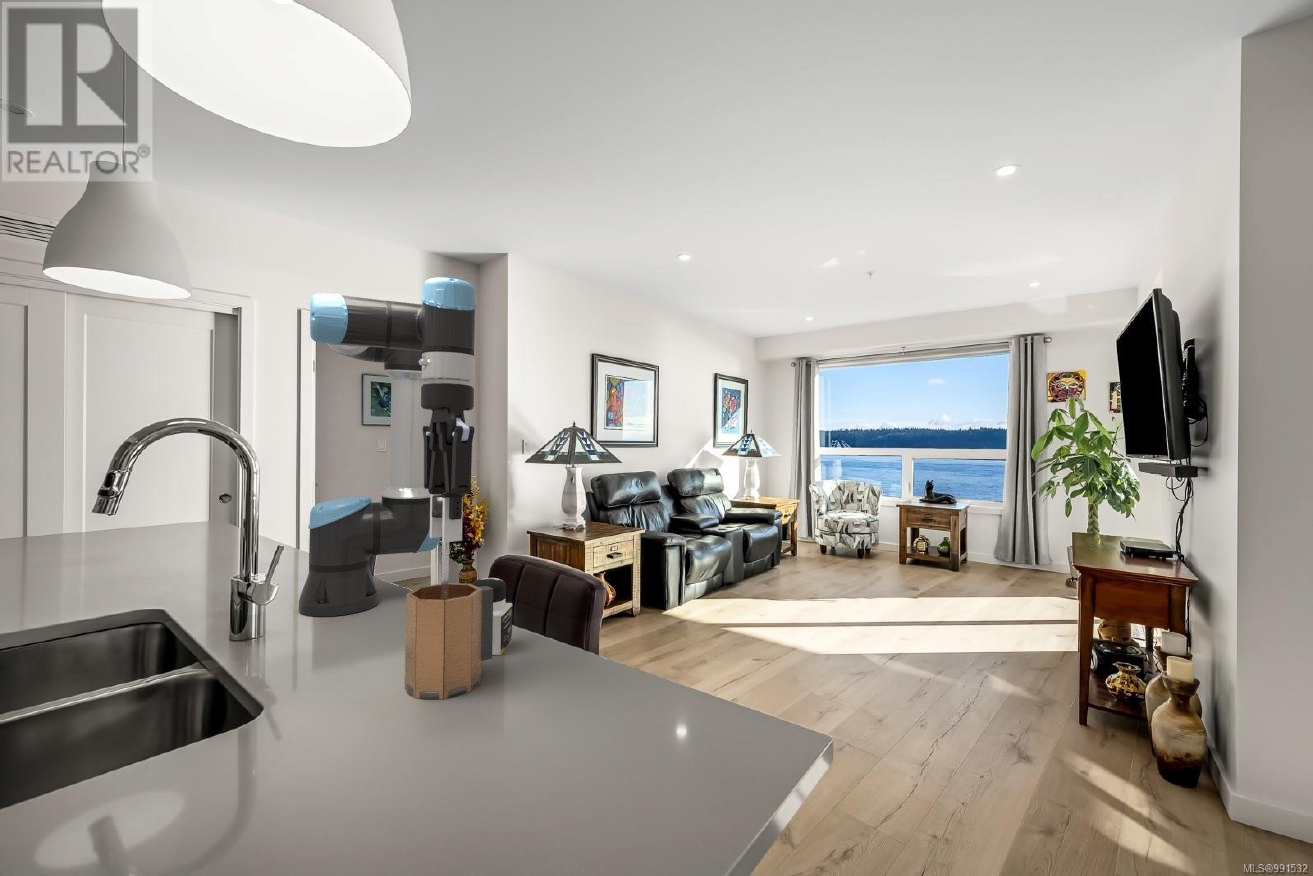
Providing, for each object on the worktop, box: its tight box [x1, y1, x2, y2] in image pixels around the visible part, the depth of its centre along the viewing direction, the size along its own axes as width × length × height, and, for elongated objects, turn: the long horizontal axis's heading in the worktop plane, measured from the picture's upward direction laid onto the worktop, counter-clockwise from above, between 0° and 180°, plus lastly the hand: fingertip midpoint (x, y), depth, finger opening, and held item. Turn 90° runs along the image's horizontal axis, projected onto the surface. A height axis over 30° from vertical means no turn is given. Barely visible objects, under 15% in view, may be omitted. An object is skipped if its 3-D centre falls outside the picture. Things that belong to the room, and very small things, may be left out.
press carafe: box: [404, 582, 493, 701], centre depth 90 cm, size 10×12×14 cm
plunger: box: [432, 495, 450, 600], centre depth 89 cm, size 8×8×22 cm
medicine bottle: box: [471, 577, 514, 656], centre depth 105 cm, size 7×7×12 cm
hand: (445, 538), depth 89 cm, fingers closed on plunger, 4 cm apart
